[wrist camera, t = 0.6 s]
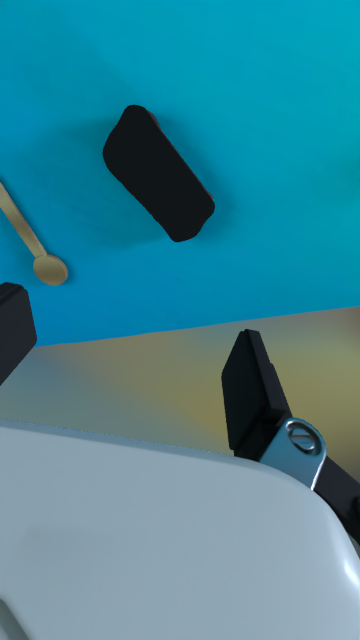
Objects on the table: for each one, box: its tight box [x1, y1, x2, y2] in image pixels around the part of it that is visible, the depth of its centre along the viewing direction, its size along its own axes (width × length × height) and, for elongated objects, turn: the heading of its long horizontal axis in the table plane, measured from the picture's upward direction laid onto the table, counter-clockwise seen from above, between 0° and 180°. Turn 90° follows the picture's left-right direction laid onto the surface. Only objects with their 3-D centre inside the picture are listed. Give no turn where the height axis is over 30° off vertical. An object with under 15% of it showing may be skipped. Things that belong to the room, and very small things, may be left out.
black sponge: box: [103, 105, 215, 242], centre depth 33 cm, size 16×8×4 cm, turn 42°
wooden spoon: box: [0, 183, 68, 286], centre depth 40 cm, size 18×6×1 cm, turn 19°
